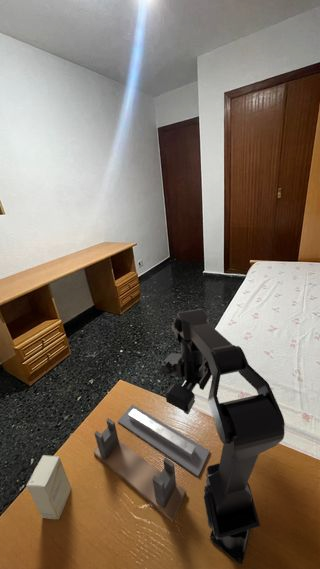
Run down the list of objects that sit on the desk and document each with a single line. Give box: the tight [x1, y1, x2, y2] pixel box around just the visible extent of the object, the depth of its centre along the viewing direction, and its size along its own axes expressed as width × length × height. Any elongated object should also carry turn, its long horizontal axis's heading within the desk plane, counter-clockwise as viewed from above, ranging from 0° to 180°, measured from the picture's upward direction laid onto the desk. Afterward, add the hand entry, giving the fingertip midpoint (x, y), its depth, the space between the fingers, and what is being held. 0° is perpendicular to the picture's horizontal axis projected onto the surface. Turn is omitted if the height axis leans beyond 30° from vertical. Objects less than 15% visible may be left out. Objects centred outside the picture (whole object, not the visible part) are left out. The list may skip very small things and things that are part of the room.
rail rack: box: [93, 418, 187, 522], centre depth 57 cm, size 26×6×10 cm, turn 55°
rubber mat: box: [117, 404, 211, 478], centre depth 67 cm, size 28×7×1 cm, turn 55°
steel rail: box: [128, 409, 196, 460], centre depth 66 cm, size 22×2×2 cm, turn 55°
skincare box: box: [25, 454, 72, 520], centre depth 52 cm, size 6×4×12 cm
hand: (194, 400), depth 63 cm, fingers open, 9 cm apart
